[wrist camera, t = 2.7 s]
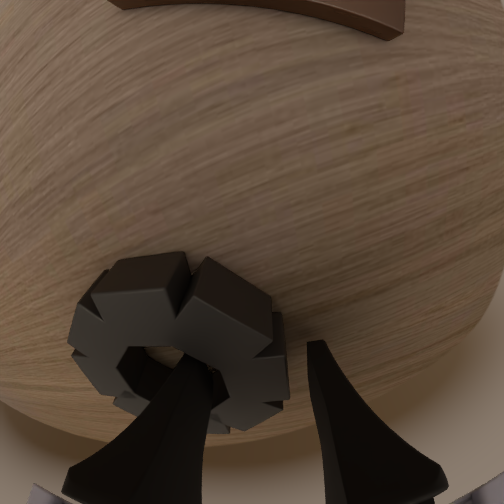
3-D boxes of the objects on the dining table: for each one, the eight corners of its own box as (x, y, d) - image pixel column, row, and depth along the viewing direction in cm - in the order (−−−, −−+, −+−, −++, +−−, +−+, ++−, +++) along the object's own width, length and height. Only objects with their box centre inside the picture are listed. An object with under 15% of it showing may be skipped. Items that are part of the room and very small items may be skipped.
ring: (138, 394, 14) (127, 425, 12) (64, 267, 10) (35, 297, 8) (290, 394, 13) (293, 431, 11) (272, 238, 9) (276, 276, 7)
